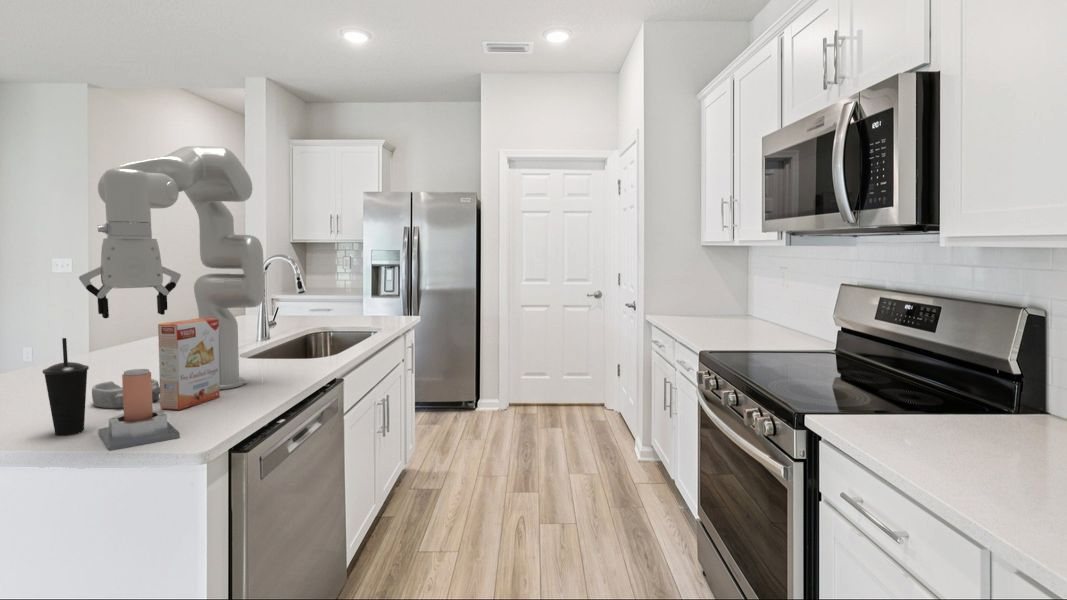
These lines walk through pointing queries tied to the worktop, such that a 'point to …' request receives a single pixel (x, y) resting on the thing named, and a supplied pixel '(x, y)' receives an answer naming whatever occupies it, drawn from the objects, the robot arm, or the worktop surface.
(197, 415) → the worktop surface
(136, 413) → the cylinder
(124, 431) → the ring block
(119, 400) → the dish
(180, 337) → the cracker box
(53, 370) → the drinking cup
